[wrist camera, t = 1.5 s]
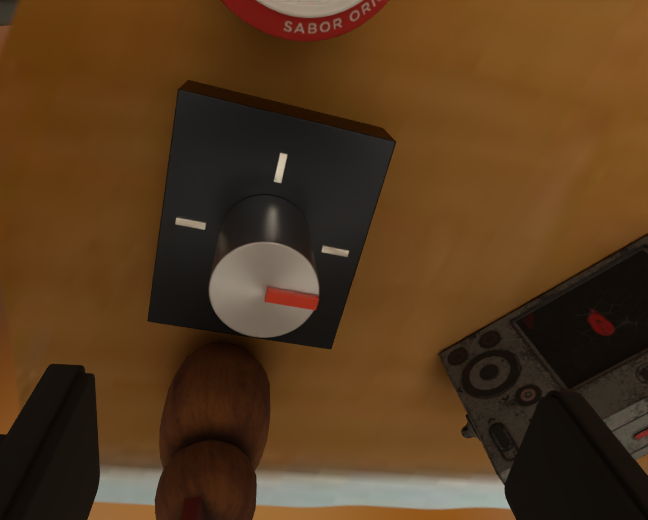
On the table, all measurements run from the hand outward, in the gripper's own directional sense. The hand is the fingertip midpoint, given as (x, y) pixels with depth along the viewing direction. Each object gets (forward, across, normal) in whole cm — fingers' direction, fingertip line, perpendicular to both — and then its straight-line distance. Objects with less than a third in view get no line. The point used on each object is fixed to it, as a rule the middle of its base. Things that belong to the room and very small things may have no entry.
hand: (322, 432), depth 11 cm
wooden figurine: (+19, +3, +13) cm, 23 cm away
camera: (+19, -18, +7) cm, 27 cm away
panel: (+18, +1, +2) cm, 19 cm away
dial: (+15, +1, +2) cm, 16 cm away
